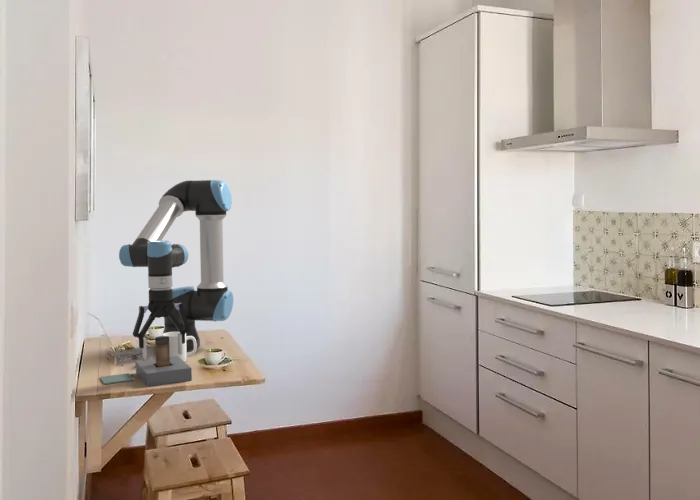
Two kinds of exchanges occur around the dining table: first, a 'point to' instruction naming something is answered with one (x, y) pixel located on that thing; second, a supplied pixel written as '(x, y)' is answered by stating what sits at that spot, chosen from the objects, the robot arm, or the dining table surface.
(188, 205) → the robot arm
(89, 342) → the dining table surface
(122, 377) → the mat
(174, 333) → the cup
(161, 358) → the plug
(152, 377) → the socket block
